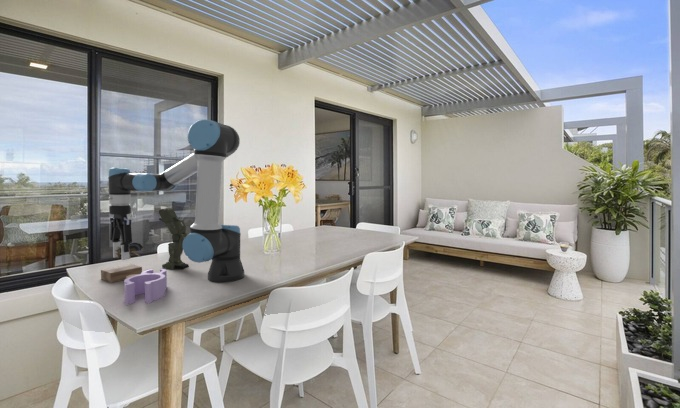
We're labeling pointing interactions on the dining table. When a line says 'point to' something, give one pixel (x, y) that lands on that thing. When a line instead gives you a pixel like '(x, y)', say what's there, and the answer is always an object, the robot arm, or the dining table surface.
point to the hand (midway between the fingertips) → (121, 258)
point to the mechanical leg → (174, 238)
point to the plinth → (119, 272)
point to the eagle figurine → (130, 249)
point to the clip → (146, 286)
